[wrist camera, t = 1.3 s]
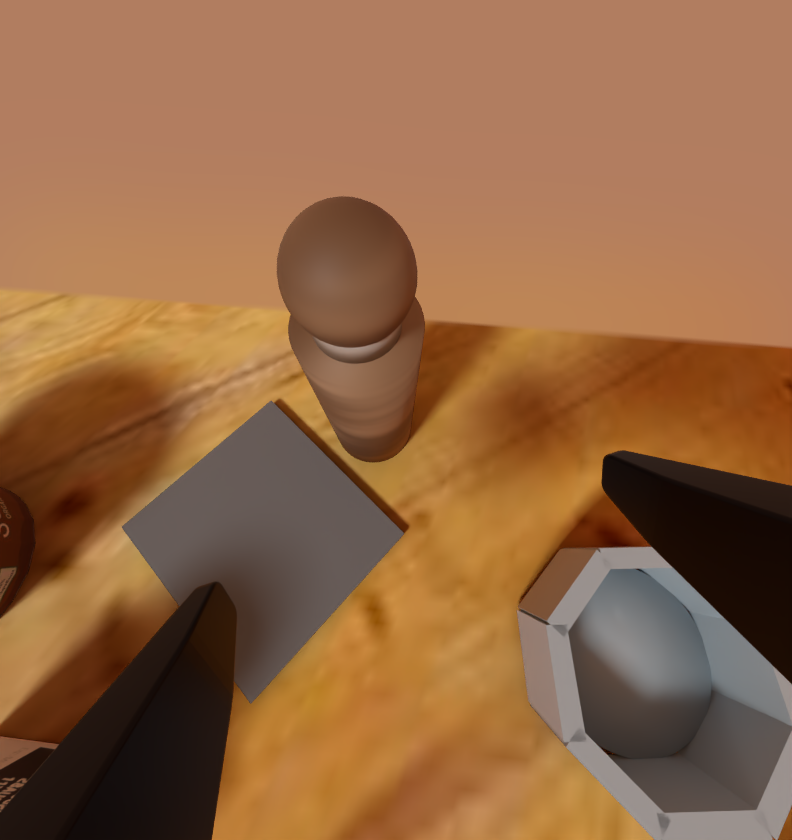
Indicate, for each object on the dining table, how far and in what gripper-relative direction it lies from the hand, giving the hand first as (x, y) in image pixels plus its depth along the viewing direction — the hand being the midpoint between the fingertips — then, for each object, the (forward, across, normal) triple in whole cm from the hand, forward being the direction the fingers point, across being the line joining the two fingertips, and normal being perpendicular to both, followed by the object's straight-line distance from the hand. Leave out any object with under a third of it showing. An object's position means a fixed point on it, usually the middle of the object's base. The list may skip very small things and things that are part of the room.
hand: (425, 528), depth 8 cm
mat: (+11, +8, +7) cm, 16 cm away
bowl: (+3, -9, +15) cm, 18 cm away
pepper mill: (+14, 0, +4) cm, 15 cm away
